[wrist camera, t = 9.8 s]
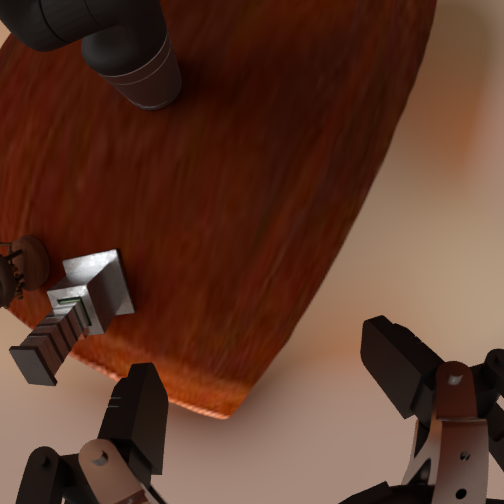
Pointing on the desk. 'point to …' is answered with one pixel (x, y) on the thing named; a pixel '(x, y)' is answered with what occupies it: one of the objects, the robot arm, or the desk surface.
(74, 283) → the stand
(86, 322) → the column
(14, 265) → the brown piece
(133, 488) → the robot arm
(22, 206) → the desk surface
